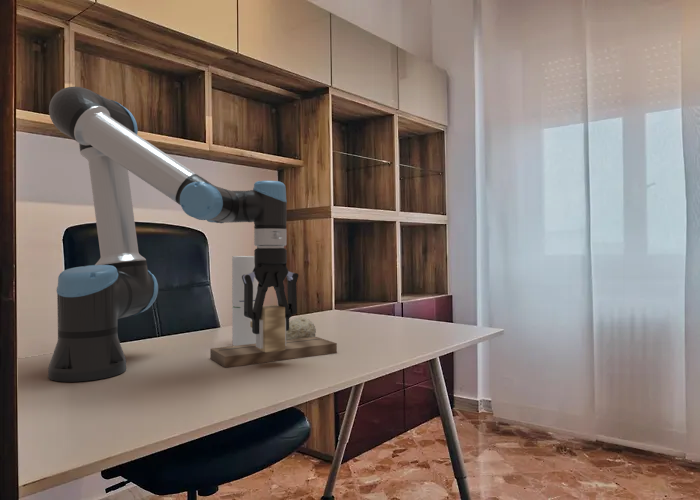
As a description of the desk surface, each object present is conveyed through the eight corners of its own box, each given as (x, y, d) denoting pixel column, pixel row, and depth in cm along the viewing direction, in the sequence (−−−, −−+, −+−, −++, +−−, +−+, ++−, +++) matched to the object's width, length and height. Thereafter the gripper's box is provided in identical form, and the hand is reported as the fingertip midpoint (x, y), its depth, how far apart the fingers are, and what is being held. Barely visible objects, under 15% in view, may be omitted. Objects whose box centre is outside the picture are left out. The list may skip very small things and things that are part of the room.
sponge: (316, 356, 146) (320, 325, 152) (312, 342, 138) (316, 310, 144) (285, 355, 147) (290, 324, 153) (279, 341, 139) (284, 309, 145)
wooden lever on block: (265, 352, 115) (265, 308, 115) (243, 342, 127) (243, 303, 127) (285, 350, 118) (285, 307, 117) (262, 340, 129) (262, 301, 129)
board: (225, 367, 116) (225, 356, 116) (210, 358, 125) (210, 348, 125) (336, 352, 132) (336, 342, 132) (316, 345, 141) (316, 336, 141)
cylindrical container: (255, 346, 140) (255, 256, 140) (229, 346, 140) (229, 256, 140) (260, 341, 147) (260, 256, 147) (235, 341, 147) (235, 256, 147)
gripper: (239, 247, 110) (239, 353, 110) (312, 247, 120) (312, 344, 120) (227, 247, 116) (228, 347, 117) (298, 247, 126) (298, 339, 126)
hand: (271, 346), depth 118 cm, fingers closed on wooden lever on block, 5 cm apart
